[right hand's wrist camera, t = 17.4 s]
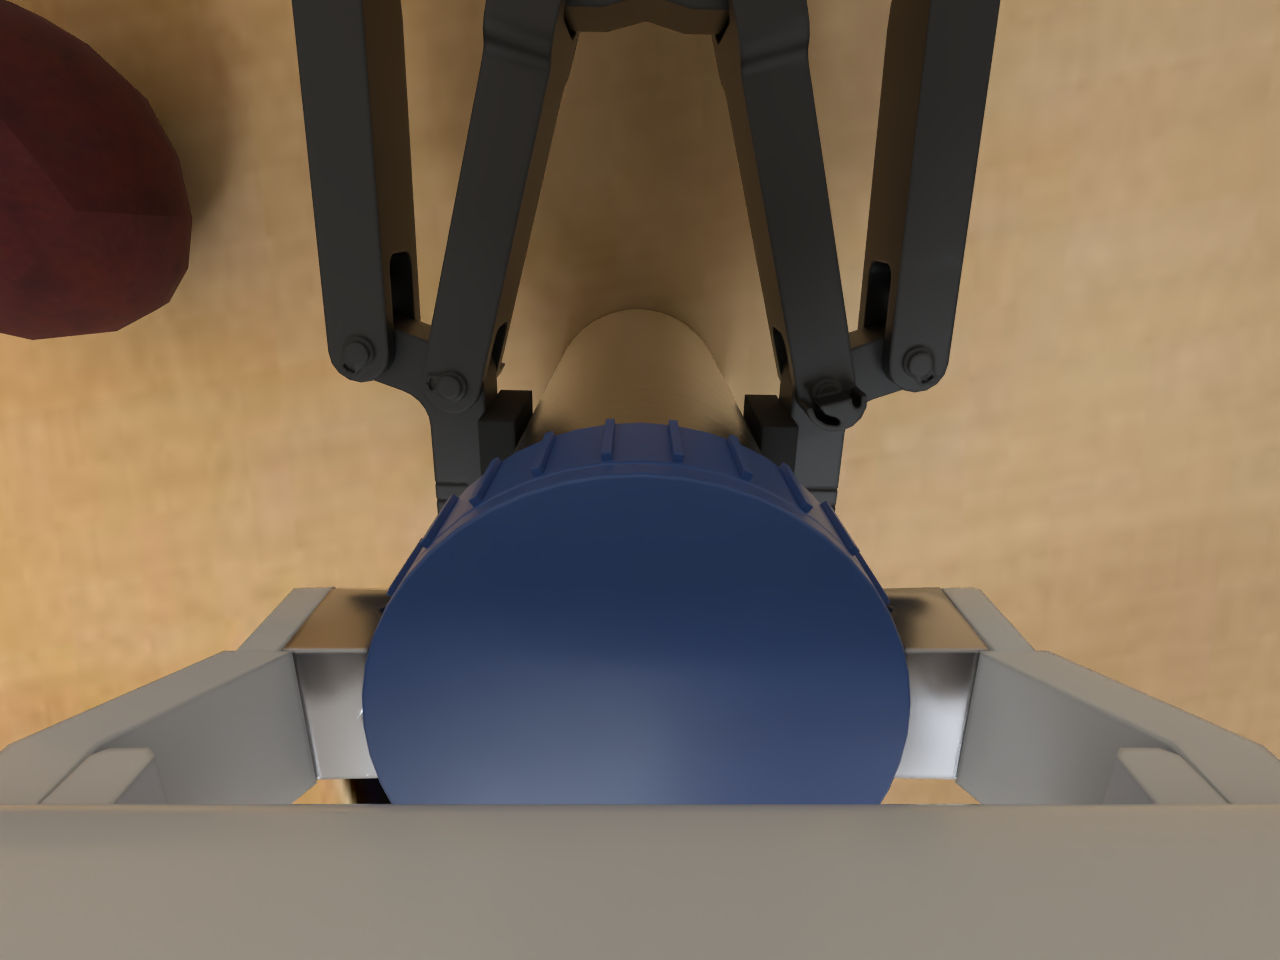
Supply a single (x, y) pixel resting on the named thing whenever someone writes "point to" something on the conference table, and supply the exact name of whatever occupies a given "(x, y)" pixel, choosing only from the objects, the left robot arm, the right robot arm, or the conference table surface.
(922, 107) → the left robot arm
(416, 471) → the conference table surface
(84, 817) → the right robot arm
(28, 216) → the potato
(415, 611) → the lid
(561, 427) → the jar
